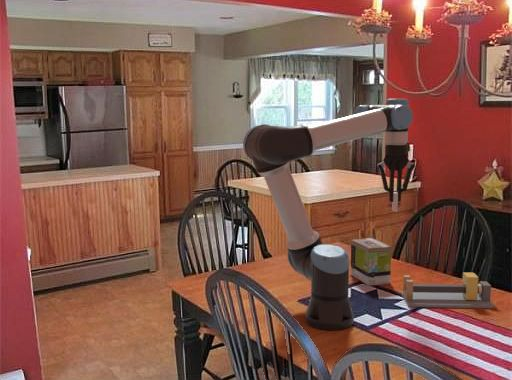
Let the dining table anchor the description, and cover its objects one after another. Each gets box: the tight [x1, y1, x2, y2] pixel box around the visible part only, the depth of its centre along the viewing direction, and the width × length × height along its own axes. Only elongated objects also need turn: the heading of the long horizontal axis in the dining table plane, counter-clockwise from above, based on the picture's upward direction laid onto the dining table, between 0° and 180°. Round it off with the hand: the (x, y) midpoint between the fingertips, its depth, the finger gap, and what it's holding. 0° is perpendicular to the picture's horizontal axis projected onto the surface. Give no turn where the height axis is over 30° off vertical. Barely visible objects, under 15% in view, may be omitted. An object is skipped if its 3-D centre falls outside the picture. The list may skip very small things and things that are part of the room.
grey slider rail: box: [401, 274, 495, 309], centre depth 184 cm, size 12×28×8 cm, turn 85°
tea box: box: [350, 237, 392, 286], centre depth 208 cm, size 15×10×15 cm, turn 17°
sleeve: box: [461, 272, 479, 300], centre depth 183 cm, size 5×4×8 cm
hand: (394, 210), depth 188 cm, fingers closed
